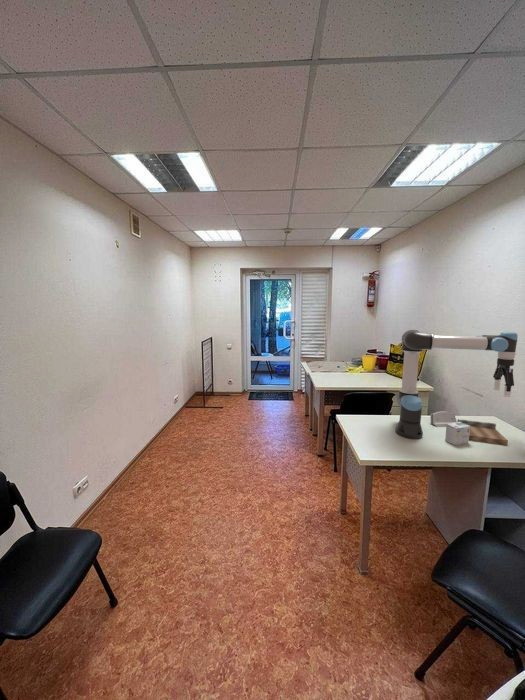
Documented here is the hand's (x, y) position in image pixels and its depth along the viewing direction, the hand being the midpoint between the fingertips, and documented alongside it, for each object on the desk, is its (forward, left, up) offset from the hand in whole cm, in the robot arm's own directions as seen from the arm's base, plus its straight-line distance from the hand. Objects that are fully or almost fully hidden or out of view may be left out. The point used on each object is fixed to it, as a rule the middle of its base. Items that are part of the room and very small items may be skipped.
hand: (501, 393), depth 163 cm
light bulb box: (-24, -15, -28) cm, 40 cm away
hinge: (-25, +11, -28) cm, 39 cm away
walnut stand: (-8, -1, -28) cm, 29 cm away
